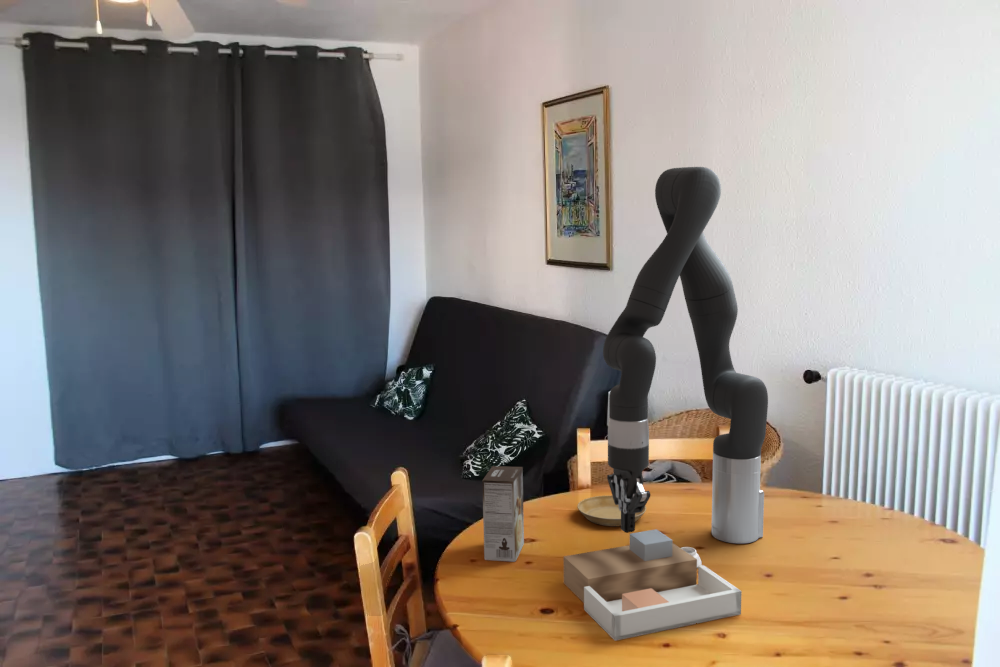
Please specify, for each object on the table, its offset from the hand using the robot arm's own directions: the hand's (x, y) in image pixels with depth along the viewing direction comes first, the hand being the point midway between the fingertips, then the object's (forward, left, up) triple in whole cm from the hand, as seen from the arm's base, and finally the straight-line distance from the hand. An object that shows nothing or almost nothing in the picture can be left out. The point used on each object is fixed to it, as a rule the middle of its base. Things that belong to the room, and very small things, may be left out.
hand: (627, 530), depth 158 cm
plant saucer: (-8, -22, -7) cm, 24 cm away
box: (+4, +20, -6) cm, 21 cm away
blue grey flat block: (0, +8, -1) cm, 8 cm away
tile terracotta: (+8, +21, -2) cm, 23 cm away
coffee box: (+20, -13, -6) cm, 25 cm away
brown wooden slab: (+4, +9, -6) cm, 12 cm away
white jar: (-10, +5, -6) cm, 13 cm away
